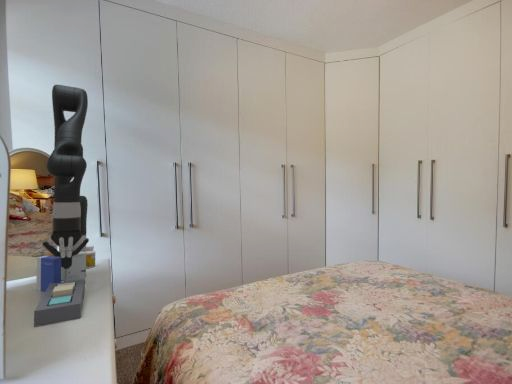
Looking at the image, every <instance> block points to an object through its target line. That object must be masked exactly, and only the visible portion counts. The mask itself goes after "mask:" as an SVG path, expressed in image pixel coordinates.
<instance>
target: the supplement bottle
mask: <svg viewBox="0 0 512 384" xmlns="http://www.w3.org/2000/svg"><path fill="white" fill-rule="evenodd" d="M94 248H95V246H94V245H92V244H90V245H86V270H87V269H92V268H94V267H96V250H95V249H94Z"/></svg>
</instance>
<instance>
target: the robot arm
mask: <svg viewBox="0 0 512 384" xmlns="http://www.w3.org/2000/svg"><path fill="white" fill-rule="evenodd" d="M51 89H52V90H51V99H52V112H53V113H52V114H53V125H54V141H53V142H54V143H53V145H54V147H53V148H54V149H53V150H52V152H51V154H50V155H49V157H48V159H47V162H46V170H47V172H48V173H49V174H50V175H51V176H54V177H55V186H54V188H53V207H52V215H51V216H52V233H51V234H50V238H48V239H47V240H45V241H43V242H42V247H45V249H46V250H48V252H50V253H51V254H52V255H53V257H61V282H66V277H67V269H69V268H70V267H71V265H72V256H74V255H77V254H78V253H79V252H83V251H86V246H87V244H89V241H90V238H87V221H88V219H87V218H88V216H87V215H88V199H87V196H85V195H81V187H82V182H83V179H84V176H85V174H86V170H87V161H86V159H85V158H84V148H83V144H82V137H83V136H82V135H83V128H84V126H85V123H86V122H85V121H86V117H87V111H88V105H89V101H88V94H87V91H86V90H85V89H83V88H81V87H76V86H70V85H64V84H54V85H53V86H52V88H51ZM65 112H70V113H74V114H73V115H72V116H71V117H70V118H68V119H66V118H65V114H64V113H65ZM53 244H55V245H56V246H57V247H58V249H57V248H56V246H54V245H53Z"/></svg>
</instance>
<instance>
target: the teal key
mask: <svg viewBox="0 0 512 384" xmlns="http://www.w3.org/2000/svg"><path fill="white" fill-rule="evenodd" d="M71 301H72V296H66V297H59V298H53V299H51V301H50V303H49V306H51V305H58V304H64V303H70V302H71Z"/></svg>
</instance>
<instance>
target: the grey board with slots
mask: <svg viewBox="0 0 512 384" xmlns="http://www.w3.org/2000/svg"><path fill="white" fill-rule="evenodd" d="M72 282H75V287H74V294H70V295H64V296H57V297H53V290H54V288H55V287H56V286H58V284H65V283H72ZM85 287H86V278H85V279H82V280H74V281H61V282H59V283H51V284H49V286H48V287H47V289H46V291H45V292H44V293H43V294H42V297H41V298H40V300H39V302H38V303H37V305H36V307H35V309H34V311H33V312H34V314H33V317H34V318H33V327H40V326H45V325H50V324H56V323H60V322H66V321H71V320H76V319H77V320H78V319H81V316H82V308H83V303H84V298H85V291H86V289H85ZM66 296H72V301H71V302H70V303H64V304H58V305H51V306H49V303H50V301H51V299H53V298H59V297H66Z"/></svg>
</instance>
